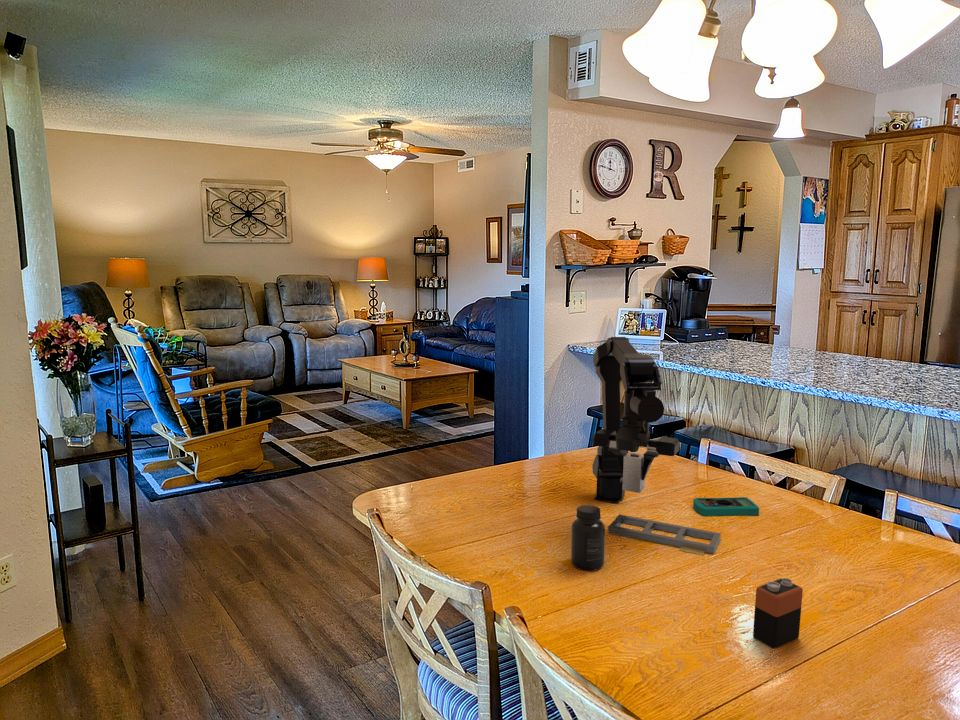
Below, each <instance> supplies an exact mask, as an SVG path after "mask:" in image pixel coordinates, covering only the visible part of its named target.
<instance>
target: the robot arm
mask: <svg viewBox="0 0 960 720" xmlns="http://www.w3.org/2000/svg"><path fill="white" fill-rule="evenodd" d="M592 362H593V363H592V364H593V366H594V367H595V373H596V375H597V377H598V378H599V380H600V382H601V386H602V388H601V389H602V428H600V429H599V430H597V432H595V433H594V434H593V436H592V445H593V446H594V447H595V446H596V447H597V449H596V450H597V451H596V452H597V454H596V455H595V456H594V459H593V463H592V465H591V466H592V473H593V476H594V477H595V478H596V489H595V490H596V492H595V493H596V494H595V496H594V497H593V500H598V501H604V502H608V503H616V504H618V503H620V502H621V501H622V499H623V498H624V497H625V496H626V495H625V494H626V493H625V492H626V491H625V490H623V464H624V456H625V455H626V454H627V453H628V452H632V453H637V452H638V451H639V450H640V449H639V448H646V451H645V452H644V453H643V454H644V463H643V470H642V480H644V479H646V477H647V475H648V473H649V470H650V468H651V465H652V463H653V461H654V460H655V458H657V457H659V456H660V455H661V456H667V457H675V455H677V453H678V452H679V451H680V440H679V439H678V438H676V437H667V436H661V437H660V438H659V439H657V440H656V439H655V440H654V439H650V423H655V422H658V421H659V420H660V419H661V418H662V417H663V415H664V413H665V406H664V402H663V401H662V399H660V398H659V397H657V396H656V395H657V391H661V390H662V384H663V383H662V382H663V381H662V378H661V374H660V370H659V369H660V368H659V367H658V364H657V362H656V361H655V360H654V358H653V357H651V356H650V355H646V354H642V353H641V354H640V353H639V352H638V351H637V350H636V348H635V347H634V346H633V345H632V344H631V343H630V338H628V337H626V336H610V337H608V338H607V340H606V341H605V342H604V343H601V345H599V346H597V347H596V349H595V351H594V353H593V359H592ZM621 383H622V386H623V388H624V401H623V402H624V403H623V406H624V407H623V417H621V415H622V414H621ZM621 420H622V421H621Z"/></svg>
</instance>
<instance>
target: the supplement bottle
mask: <svg viewBox="0 0 960 720" xmlns="http://www.w3.org/2000/svg"><path fill="white" fill-rule="evenodd" d="M575 515H576V516H575V517H576V519H574V520H573V522H572V523H571V532H570V533H571V537H570V539H571V540H570V541H571V544H570V545H571V547H570V551H571V553H570V556H571V557H570V562H571V564H572V565H573V567H574V568H576V569H579V570H582V571H598V570H600V569H602V568H603V567H604V565H605V552H606V550H605V547H606V546H605V545H606V537H605V536H606V527H605V524H604V522H603V521H602V520H601V509H600V507H598V506H595V505H591V504H584V505H578V507H577V508H576V514H575Z"/></svg>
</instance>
